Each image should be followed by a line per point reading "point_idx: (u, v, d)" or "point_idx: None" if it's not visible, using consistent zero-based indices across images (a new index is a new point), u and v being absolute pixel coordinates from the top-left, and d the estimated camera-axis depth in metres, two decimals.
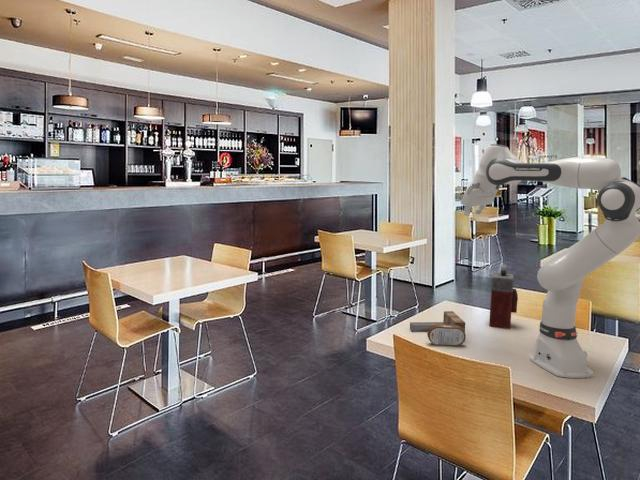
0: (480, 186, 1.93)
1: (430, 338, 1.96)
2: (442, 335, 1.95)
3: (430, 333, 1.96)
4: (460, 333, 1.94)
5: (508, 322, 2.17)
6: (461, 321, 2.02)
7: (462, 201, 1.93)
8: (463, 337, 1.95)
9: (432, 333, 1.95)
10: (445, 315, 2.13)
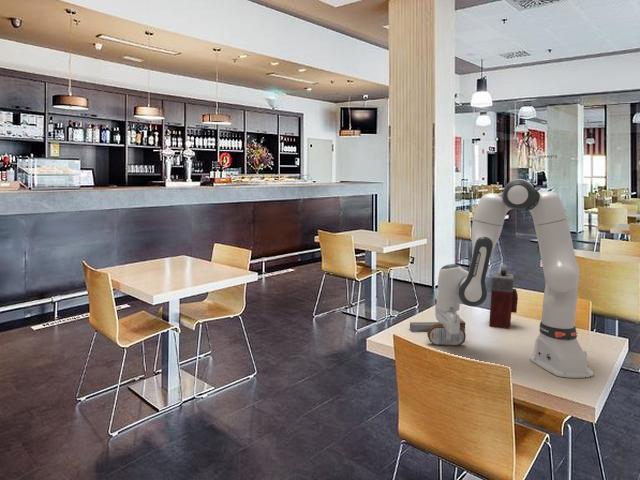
0: (454, 309, 1.90)
1: (430, 338, 1.96)
2: (442, 334, 1.95)
3: (430, 333, 1.96)
4: (460, 333, 1.94)
5: (508, 322, 2.17)
6: (461, 321, 2.02)
7: (453, 331, 1.86)
8: (463, 337, 1.95)
9: (432, 332, 1.95)
10: None
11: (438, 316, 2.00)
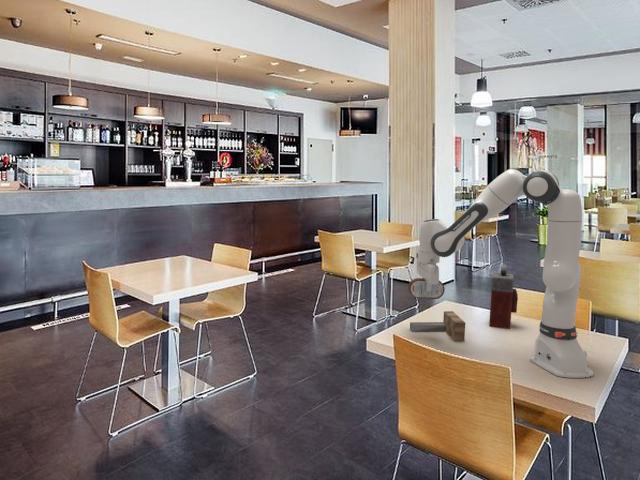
0: None
1: (411, 291, 2.04)
2: (422, 287, 2.04)
3: (411, 286, 2.04)
4: (439, 286, 2.04)
5: (508, 322, 2.17)
6: (461, 321, 2.02)
7: (432, 281, 1.94)
8: (442, 290, 2.04)
9: (413, 285, 2.04)
10: (445, 315, 2.13)
11: (420, 270, 2.09)
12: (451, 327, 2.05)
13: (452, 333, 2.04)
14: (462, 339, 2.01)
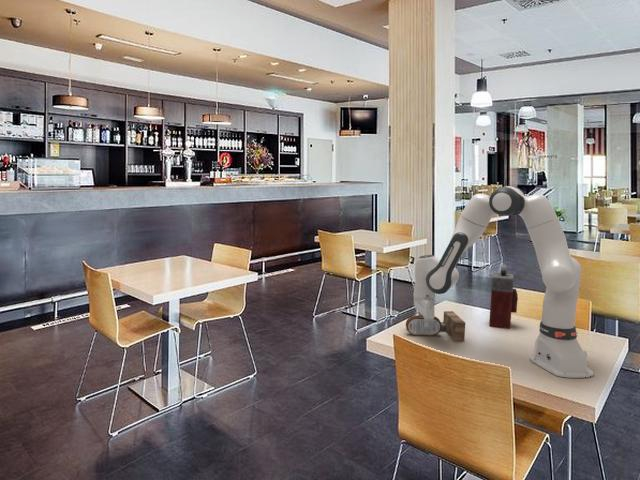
0: (429, 297, 2.03)
1: (408, 329, 2.07)
2: (419, 325, 2.07)
3: (408, 324, 2.07)
4: (436, 323, 2.06)
5: (508, 322, 2.17)
6: (461, 321, 2.02)
7: (428, 317, 1.98)
8: (439, 327, 2.06)
9: (410, 323, 2.07)
10: (445, 315, 2.13)
11: (416, 304, 2.13)
12: (451, 327, 2.05)
13: (452, 333, 2.04)
14: (462, 339, 2.01)
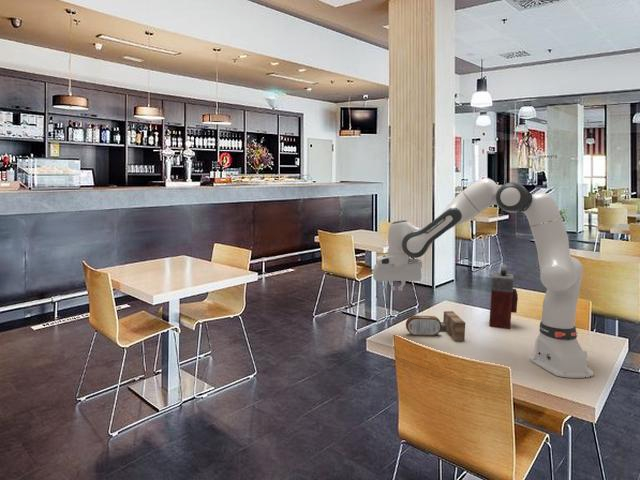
0: None
1: (408, 329, 2.07)
2: (419, 325, 2.07)
3: (408, 324, 2.07)
4: (436, 323, 2.06)
5: (508, 322, 2.17)
6: (461, 321, 2.02)
7: None
8: (439, 327, 2.06)
9: (410, 323, 2.07)
10: (445, 315, 2.13)
11: (385, 275, 2.03)
12: (451, 327, 2.05)
13: (452, 333, 2.04)
14: (462, 339, 2.01)
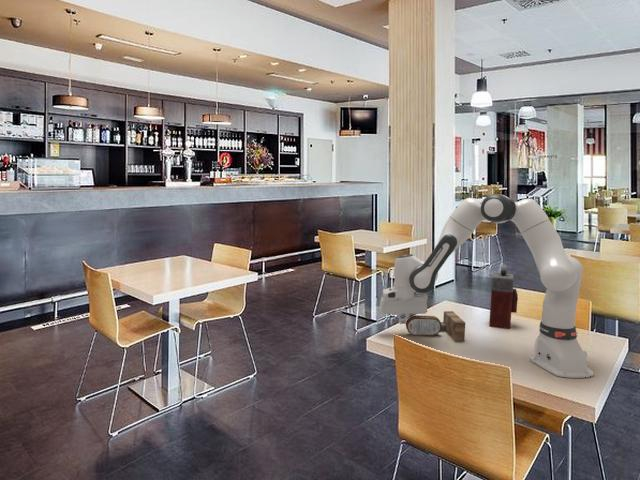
0: None
1: (408, 329, 2.07)
2: (419, 325, 2.07)
3: (408, 324, 2.07)
4: (436, 323, 2.06)
5: (508, 322, 2.17)
6: (461, 321, 2.02)
7: None
8: (439, 327, 2.06)
9: (410, 323, 2.07)
10: (445, 315, 2.13)
11: (391, 308, 2.05)
12: (451, 327, 2.05)
13: (452, 333, 2.04)
14: (462, 339, 2.01)
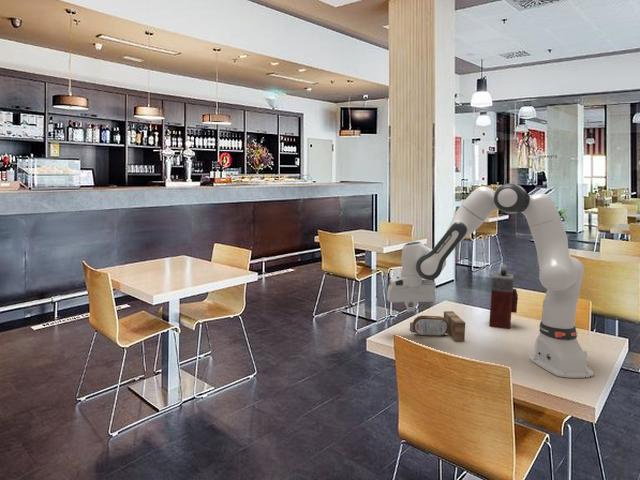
0: None
1: (415, 329, 2.07)
2: (426, 325, 2.06)
3: (415, 324, 2.06)
4: (443, 323, 2.06)
5: (508, 322, 2.17)
6: (461, 321, 2.02)
7: None
8: (446, 327, 2.06)
9: (417, 323, 2.06)
10: (445, 315, 2.13)
11: (399, 296, 2.04)
12: (451, 327, 2.05)
13: (452, 333, 2.04)
14: (462, 339, 2.01)
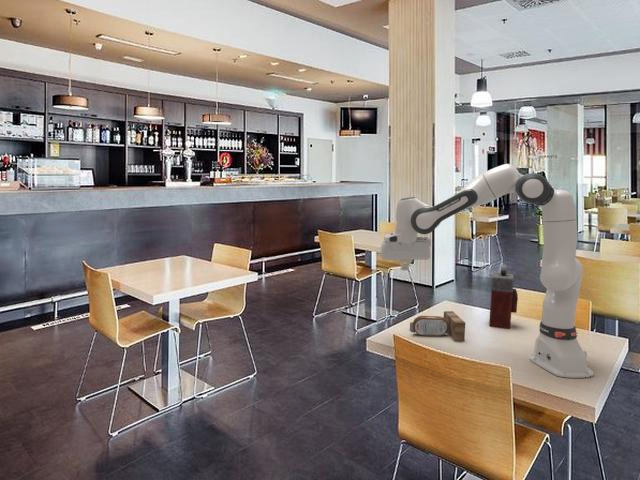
0: None
1: (415, 329, 2.07)
2: (426, 325, 2.06)
3: (415, 324, 2.06)
4: (443, 323, 2.06)
5: (508, 322, 2.17)
6: (461, 321, 2.02)
7: None
8: (446, 327, 2.06)
9: (417, 324, 2.06)
10: (445, 315, 2.13)
11: (393, 253, 1.97)
12: (451, 327, 2.05)
13: (452, 333, 2.04)
14: (462, 339, 2.01)
